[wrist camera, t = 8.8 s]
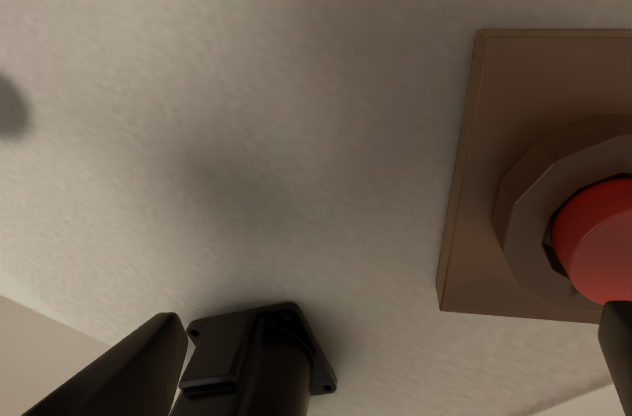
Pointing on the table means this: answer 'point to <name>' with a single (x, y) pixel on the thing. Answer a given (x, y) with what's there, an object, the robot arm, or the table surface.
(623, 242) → the red button
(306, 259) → the table surface
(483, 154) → the button block
